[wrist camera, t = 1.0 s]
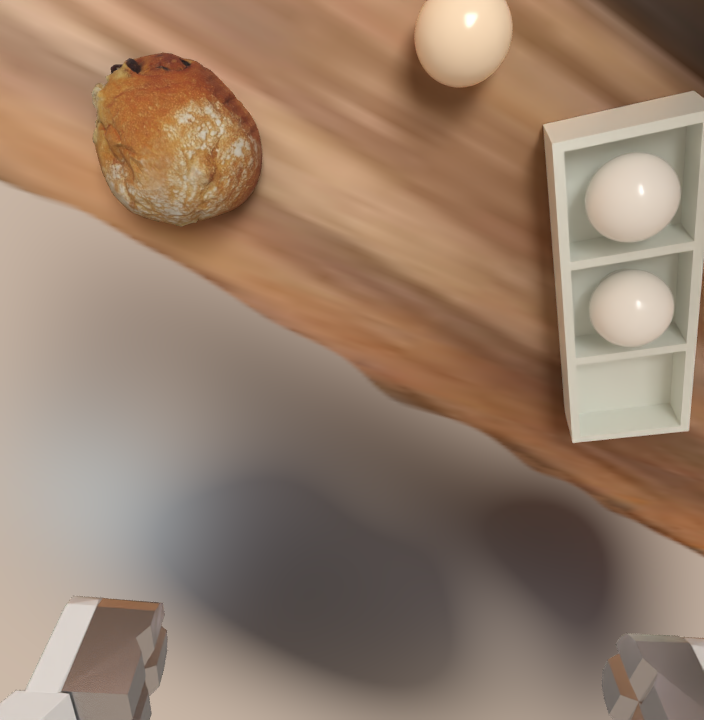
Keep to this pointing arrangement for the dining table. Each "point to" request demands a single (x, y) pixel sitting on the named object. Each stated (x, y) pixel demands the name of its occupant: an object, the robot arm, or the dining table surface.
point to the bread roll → (174, 140)
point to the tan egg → (463, 39)
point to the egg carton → (602, 256)
